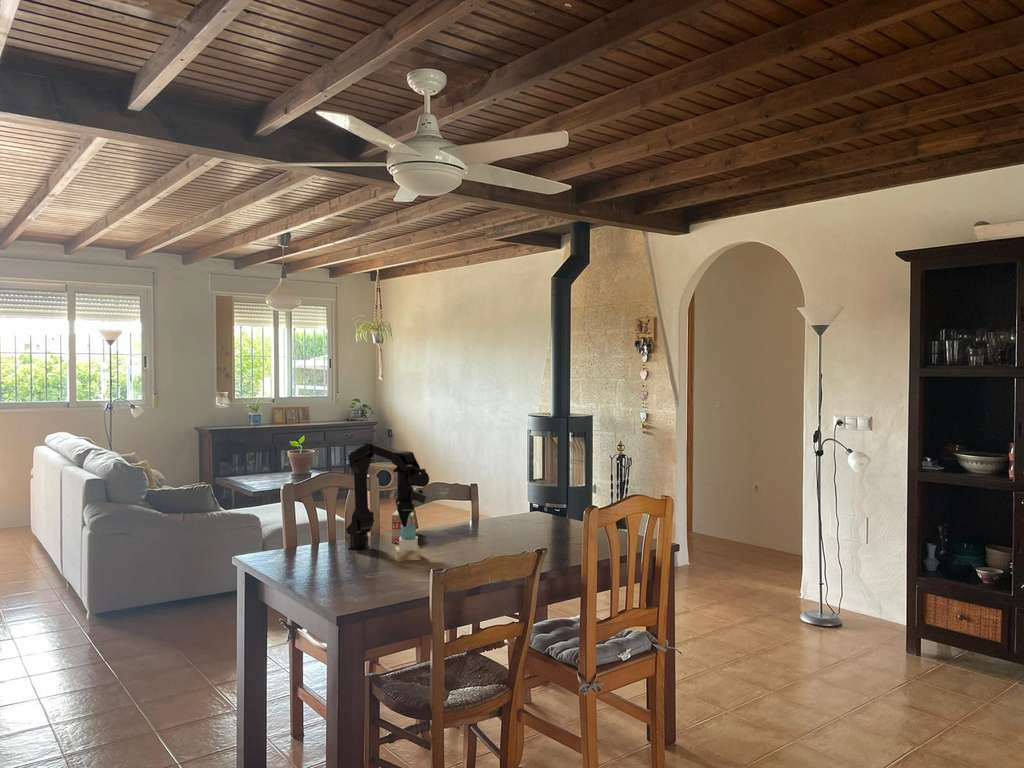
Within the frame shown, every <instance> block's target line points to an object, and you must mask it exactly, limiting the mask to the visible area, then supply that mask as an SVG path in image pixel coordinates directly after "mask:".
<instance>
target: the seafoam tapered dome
mask: <svg viewBox="0 0 1024 768" xmlns="http://www.w3.org/2000/svg"><path fill="white" fill-rule="evenodd" d="M415 536H416V524H415V523H414V524H407V525H406V527H403V525H401V539H403V540H412V539H415Z"/></svg>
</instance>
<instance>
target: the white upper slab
mask: <svg viewBox="0 0 1024 768" xmlns="http://www.w3.org/2000/svg"><path fill="white" fill-rule="evenodd" d="M418 538H419V537H418V536H417V535H415V539H412V540H403V539H401V537H399V543H398V547H399V551H417V546H418Z"/></svg>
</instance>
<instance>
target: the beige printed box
mask: <svg viewBox="0 0 1024 768" xmlns="http://www.w3.org/2000/svg"><path fill="white" fill-rule="evenodd" d="M407 524H414V525H415V512H411V513H410V514H409V517H408V521H407ZM401 525H402V522H401V519H400V517H399V514H398V511H397V509H396V511H394V512H393V513H392V514H391V543H392V542H393V543H392V544H396V543H395V542H399V537H401Z"/></svg>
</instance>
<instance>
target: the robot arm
mask: <svg viewBox="0 0 1024 768" xmlns="http://www.w3.org/2000/svg"><path fill="white" fill-rule="evenodd" d="M375 456H379V457H381V458H384V459H386V460H389V461H391V463H392V464H393V465H394V466H396V467H395V468H394V469H393V470H392V471H393V473H396V474H397V476H396V481H397V482H396V484H397V485H396V496H395V501H394V502H395V506H396V510H397V511H398V514H399V517H400V519H401V522H402V525H403V527H406V525H407V521H408V517H409V514H410V513H413V511H414V510H415V504H414V502H413V501H416V502H419V503H420V504H424V505H425V502H426V499H427V494H425V493H424V490H423V489H421V488H418V489H417V490H414V487H422V488H426V487H427V486H428V485H429V483H430V476H429V473H428V472H427V470H426V468H421V467H420V464H419V463H418V461H417V459H416V457H415V455H414V452H412V451H410V450H409V451H408V450H396V449H394V448H391V447H389V446H385V445H383V444H380V443H378V442H377V441H371V442H367V443H365V444H364V445H362V446H361V447H358V448H357V449H355V450H354V451H352V452H350V453H349V455H348V462H349V467H350V469H351V470H352V473H353V478H354V480H353V482H354V483H353V484H354V502H355V503H354V504H355V509H354V511H353V512H352V515H351V523H350V524H349V525H348V526H347V528H346V529H345V530H346V534H348V535H349V541H350V542H349V547H347V549H348V550H354V551H355V550H356V551H357V550H359V551H363V550H365V549H368V548H369V547H370V545H369V535H368V533H370V532H371V531H372V527H373V525H374V523H375V520H374V516H375V515H374V511H371V510H370V509H369V502H368V482H367V481H368V479H367V477H368V475H367V472H368V471H369V468H370V467H371V466H370V465H371V459H372V458H374V457H375ZM413 486H414V487H413Z"/></svg>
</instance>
